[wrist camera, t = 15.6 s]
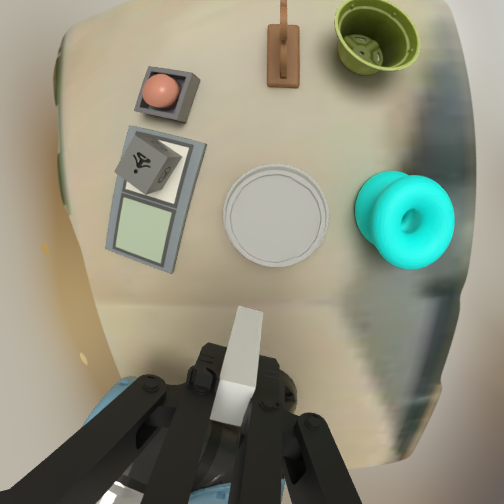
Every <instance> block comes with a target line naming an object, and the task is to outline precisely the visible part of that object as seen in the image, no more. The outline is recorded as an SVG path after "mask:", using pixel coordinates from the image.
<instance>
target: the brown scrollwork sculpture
mask: <svg viewBox="0 0 504 504" xmlns="http://www.w3.org/2000/svg"><path fill="white" fill-rule="evenodd" d="M299 70H300V59H299V26H297V25H287V0H280V24H270V25H268V54H267V85H268V86H269V87H288V88H298V87H299Z"/></svg>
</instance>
